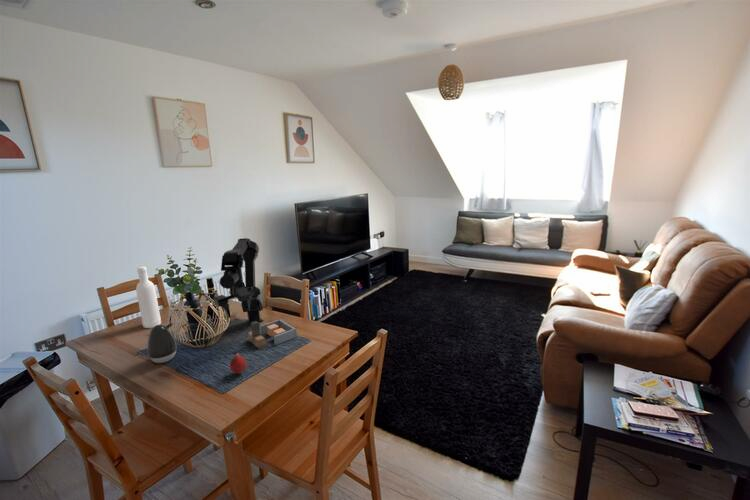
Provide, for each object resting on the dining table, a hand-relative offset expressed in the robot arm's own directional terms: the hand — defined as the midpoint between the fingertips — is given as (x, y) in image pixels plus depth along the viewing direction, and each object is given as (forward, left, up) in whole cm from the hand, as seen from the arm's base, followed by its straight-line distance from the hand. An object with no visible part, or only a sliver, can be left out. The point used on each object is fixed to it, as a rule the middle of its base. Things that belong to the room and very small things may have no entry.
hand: (240, 314), depth 156 cm
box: (+7, +13, -13) cm, 20 cm away
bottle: (-49, -26, -13) cm, 57 cm away
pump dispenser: (-7, -30, -13) cm, 33 cm away
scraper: (+7, +3, -13) cm, 15 cm away
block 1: (+4, +13, -13) cm, 18 cm away
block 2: (+11, +13, -13) cm, 21 cm away
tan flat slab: (-27, 0, -13) cm, 30 cm away
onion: (+25, -12, -13) cm, 30 cm away
